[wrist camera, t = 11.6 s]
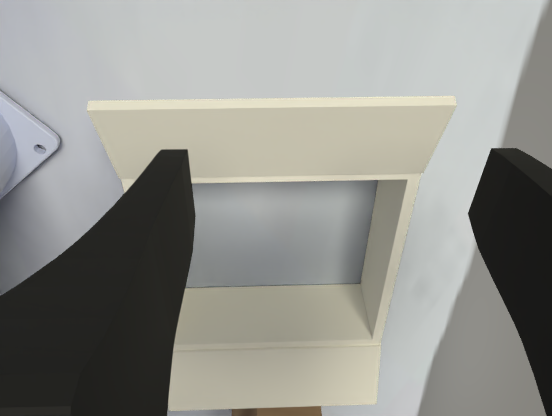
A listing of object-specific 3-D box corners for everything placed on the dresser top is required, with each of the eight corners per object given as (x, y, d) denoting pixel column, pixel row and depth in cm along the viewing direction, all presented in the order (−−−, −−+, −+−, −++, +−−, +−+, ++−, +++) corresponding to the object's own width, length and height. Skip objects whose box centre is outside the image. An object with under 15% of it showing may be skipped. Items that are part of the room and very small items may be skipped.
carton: (360, 326, 33) (376, 405, 29) (180, 331, 33) (169, 412, 28) (415, 36, 20) (458, 101, 16) (120, 39, 20) (85, 106, 16)
